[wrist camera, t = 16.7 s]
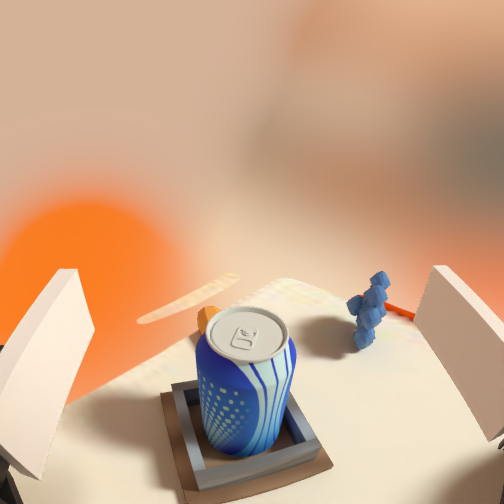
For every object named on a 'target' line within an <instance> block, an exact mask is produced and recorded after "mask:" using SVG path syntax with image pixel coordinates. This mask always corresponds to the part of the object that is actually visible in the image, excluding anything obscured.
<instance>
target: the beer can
mask: <svg viewBox="0 0 504 504" xmlns="http://www.w3.org/2000/svg"><path fill="white" fill-rule="evenodd" d="M295 364H296V349H295V346H294V343H293V341H292V340H291V338H290V337H289V330H288V327H287V325H286V323H285V322H284V321H283V320H282V319H281V318H280V317H279V316H278V315H276V314H275V313H273V312H271V311H269V310H266V309H263V308H259V307H254V306H236V307H231V308H227V309H225V310H222V311H220V312H218V313H217V314H215V315H214V316H213V317H212V318H211V319H210V320H209V322H208V324H207V326H206V331H205V332H204V333H203V334H202V336H201V337H200V339H199V341H198V343H197V346H196V366H197V376H198V386H199V395H200V404H201V413H202V421H203V429H204V433H205V436H206V438H207V440H208V441H209V443H210V444H211V445H212V446H213V447H214V448H215V449H217V450H218V451H220V452H222V453H224V454H226V455H229V456H234V457H251V456H255V455H258V454H261V453H263V452H264V451H266V450H267V449H269V448H270V447H271V446H272V445H273V443H274V442H275V441H276V439H277V437H278V434H279V430H280V426H281V422H282V418H283V414H284V410H285V406H286V402H287V398H288V394H289V390H290V386H291V381H292V377H293V373H294V368H295Z"/></svg>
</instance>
